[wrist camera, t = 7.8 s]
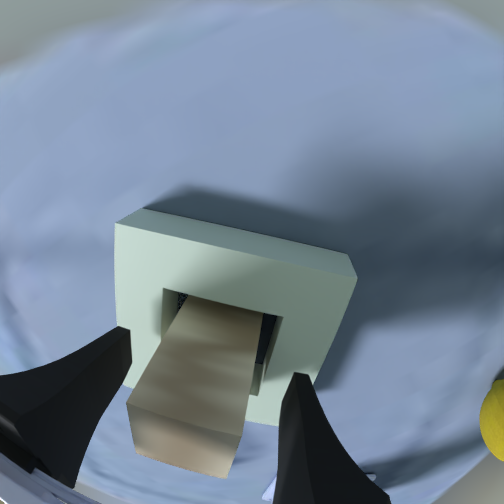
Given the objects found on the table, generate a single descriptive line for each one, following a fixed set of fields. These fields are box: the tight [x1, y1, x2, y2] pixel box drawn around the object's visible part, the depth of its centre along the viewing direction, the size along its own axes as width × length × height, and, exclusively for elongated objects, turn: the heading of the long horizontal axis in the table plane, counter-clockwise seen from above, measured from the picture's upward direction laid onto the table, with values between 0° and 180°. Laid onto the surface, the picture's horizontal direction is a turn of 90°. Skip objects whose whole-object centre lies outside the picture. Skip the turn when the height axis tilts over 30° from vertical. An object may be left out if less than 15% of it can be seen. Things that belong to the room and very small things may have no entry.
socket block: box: [115, 208, 358, 426], centre depth 15 cm, size 10×10×2 cm
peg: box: [126, 295, 263, 479], centre depth 12 cm, size 4×4×8 cm
